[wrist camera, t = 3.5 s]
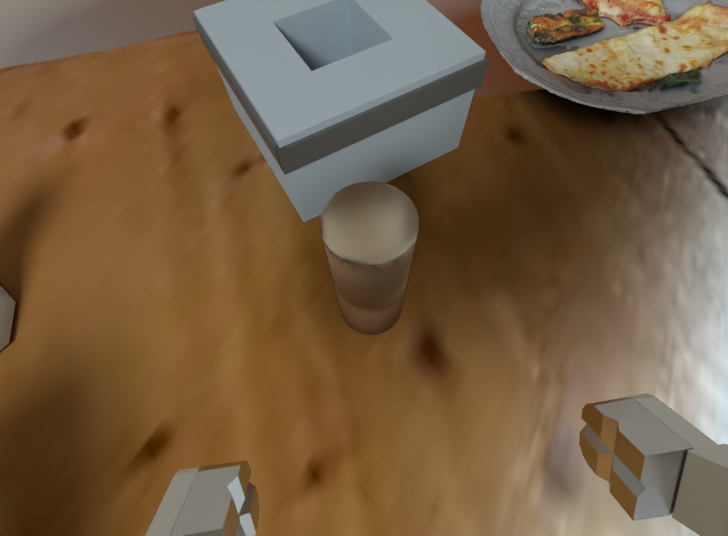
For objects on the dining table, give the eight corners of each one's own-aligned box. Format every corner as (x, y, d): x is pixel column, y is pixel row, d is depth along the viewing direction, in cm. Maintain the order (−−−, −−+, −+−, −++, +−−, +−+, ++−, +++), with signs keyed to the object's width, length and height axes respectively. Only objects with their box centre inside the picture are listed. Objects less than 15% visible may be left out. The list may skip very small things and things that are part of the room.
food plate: (650, -47, 41) (673, -87, 38) (809, 89, 31) (858, 50, 28) (443, -1, 39) (448, -39, 36) (544, 158, 30) (563, 125, 26)
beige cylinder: (381, 267, 25) (385, 167, 16) (413, 314, 23) (438, 235, 14) (329, 294, 24) (303, 206, 15) (359, 346, 22) (350, 283, 13)
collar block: (371, 51, 35) (370, -51, 27) (462, 148, 29) (491, 52, 22) (230, 107, 32) (189, 10, 25) (302, 226, 26) (275, 145, 19)
